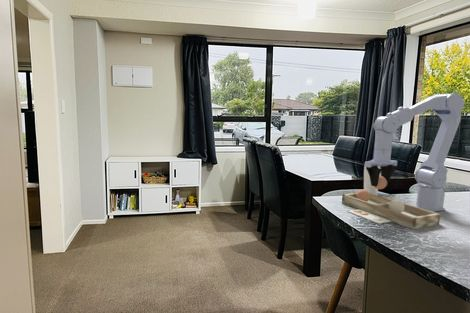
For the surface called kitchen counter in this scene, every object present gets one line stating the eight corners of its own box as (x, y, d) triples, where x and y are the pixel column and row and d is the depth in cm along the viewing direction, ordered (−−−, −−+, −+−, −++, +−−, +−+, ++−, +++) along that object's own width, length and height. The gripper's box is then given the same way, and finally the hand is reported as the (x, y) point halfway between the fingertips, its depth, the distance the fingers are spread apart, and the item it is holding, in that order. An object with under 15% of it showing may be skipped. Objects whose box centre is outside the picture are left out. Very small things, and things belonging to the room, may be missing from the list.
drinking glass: (380, 200, 135) (383, 165, 133) (363, 198, 137) (366, 163, 135) (376, 196, 142) (379, 162, 140) (360, 194, 143) (363, 161, 141)
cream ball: (394, 210, 118) (395, 197, 117) (406, 214, 113) (408, 200, 113) (384, 211, 116) (386, 198, 115) (397, 216, 111) (398, 202, 111)
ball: (362, 199, 131) (363, 187, 130) (372, 203, 127) (373, 190, 126) (353, 200, 129) (354, 188, 128) (363, 204, 125) (364, 191, 124)
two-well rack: (365, 200, 135) (366, 191, 134) (439, 224, 107) (440, 214, 107) (341, 202, 129) (342, 194, 129) (413, 229, 102) (414, 218, 101)
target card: (359, 209, 121) (359, 208, 120) (391, 221, 108) (391, 220, 108) (347, 211, 118) (347, 210, 118) (378, 223, 105) (379, 222, 105)
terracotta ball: (378, 187, 124) (379, 174, 123) (389, 190, 120) (390, 176, 119) (368, 188, 122) (369, 175, 121) (379, 191, 117) (381, 177, 117)
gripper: (387, 147, 125) (383, 181, 127) (359, 148, 119) (356, 184, 121) (403, 149, 119) (399, 185, 121) (375, 150, 113) (371, 188, 115)
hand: (379, 185), depth 120 cm, fingers closed on terracotta ball, 5 cm apart
